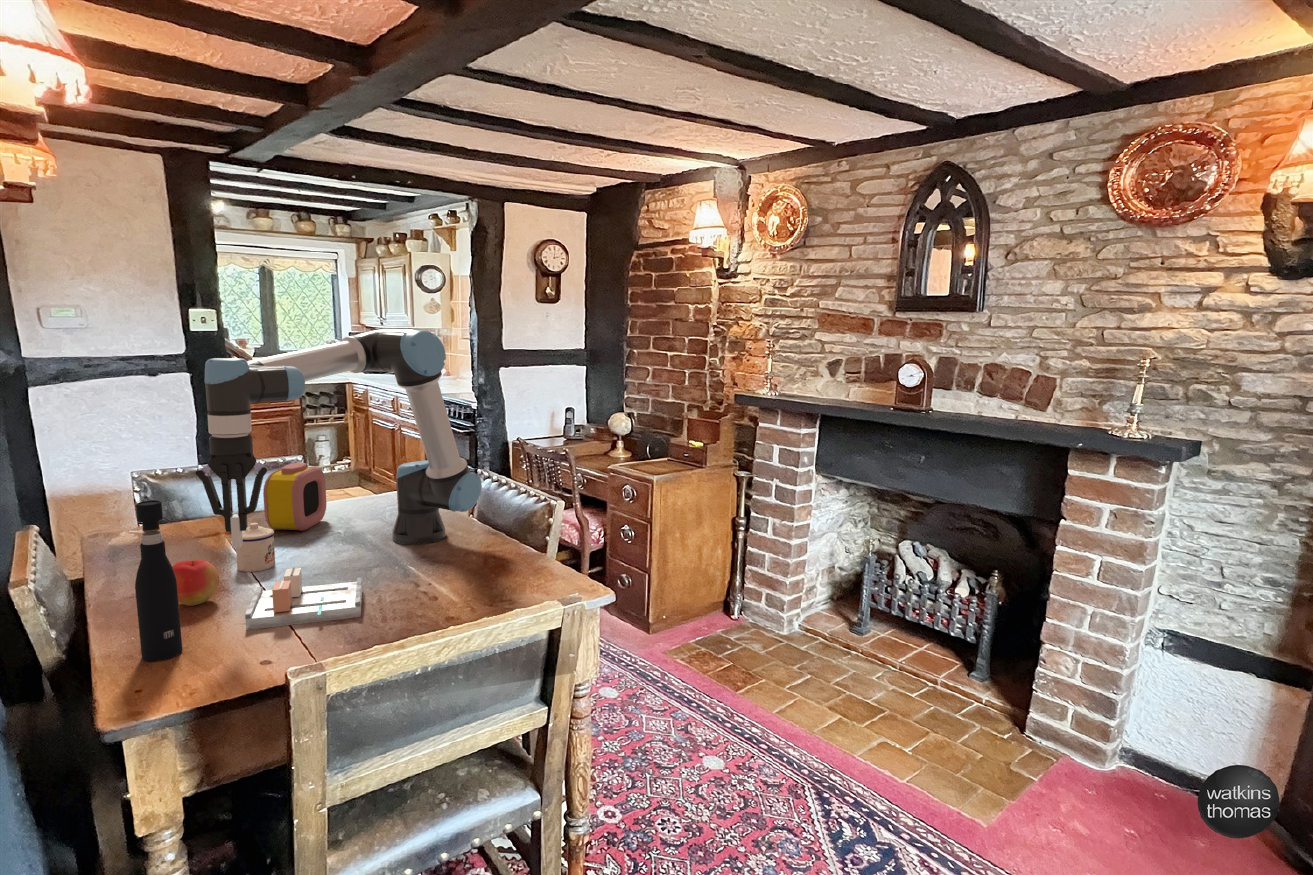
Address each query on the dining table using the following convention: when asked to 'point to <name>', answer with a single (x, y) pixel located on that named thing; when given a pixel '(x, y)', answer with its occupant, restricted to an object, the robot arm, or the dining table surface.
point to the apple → (195, 581)
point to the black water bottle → (156, 590)
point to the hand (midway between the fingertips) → (237, 545)
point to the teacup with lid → (256, 549)
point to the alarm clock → (294, 497)
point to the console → (307, 606)
